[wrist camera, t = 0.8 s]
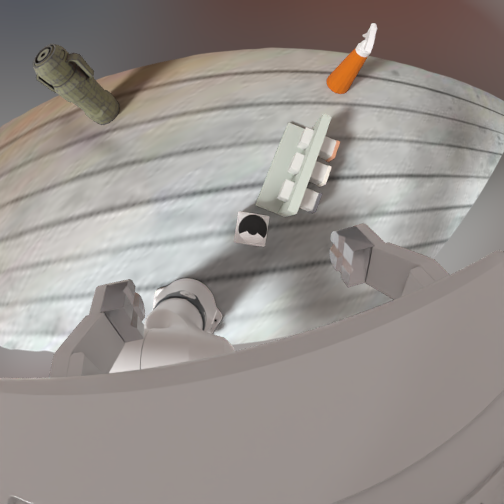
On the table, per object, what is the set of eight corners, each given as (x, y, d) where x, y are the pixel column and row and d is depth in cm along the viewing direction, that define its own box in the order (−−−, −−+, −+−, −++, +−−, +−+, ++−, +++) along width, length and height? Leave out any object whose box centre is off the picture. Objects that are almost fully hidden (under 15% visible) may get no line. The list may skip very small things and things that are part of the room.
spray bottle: (351, 72, 66) (388, 26, 40) (346, 97, 67) (387, 52, 41) (330, 63, 66) (361, 13, 39) (324, 88, 66) (358, 38, 40)
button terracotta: (328, 162, 63) (334, 157, 59) (296, 147, 63) (300, 142, 58) (333, 146, 63) (340, 141, 59) (302, 132, 62) (306, 126, 58)
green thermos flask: (125, 116, 64) (64, 54, 29) (90, 131, 63) (19, 84, 28) (123, 92, 63) (69, 27, 28) (89, 107, 62) (25, 54, 28)
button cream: (319, 187, 64) (325, 184, 59) (286, 172, 63) (290, 168, 59) (325, 170, 64) (331, 166, 59) (293, 156, 63) (297, 151, 58)
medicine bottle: (238, 212, 68) (238, 209, 56) (266, 217, 68) (272, 214, 57) (233, 241, 68) (233, 243, 56) (261, 245, 69) (267, 248, 57)
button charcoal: (310, 213, 64) (315, 212, 60) (276, 199, 64) (279, 197, 59) (316, 196, 64) (322, 193, 59) (283, 181, 63) (286, 178, 59)
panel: (284, 217, 69) (296, 214, 55) (255, 205, 68) (259, 199, 54) (314, 136, 67) (331, 116, 53) (287, 124, 67) (298, 102, 53)
